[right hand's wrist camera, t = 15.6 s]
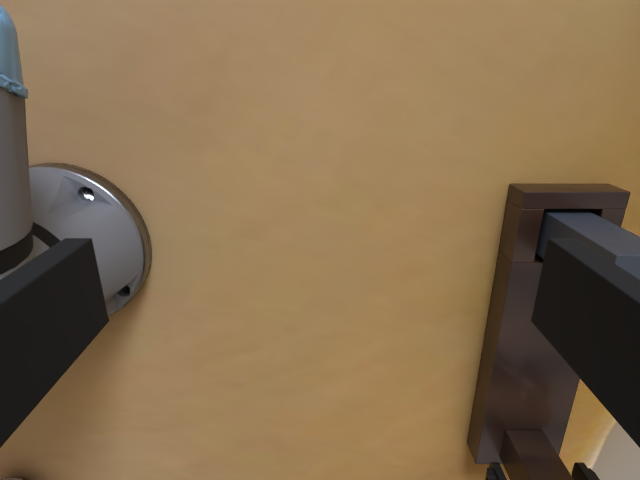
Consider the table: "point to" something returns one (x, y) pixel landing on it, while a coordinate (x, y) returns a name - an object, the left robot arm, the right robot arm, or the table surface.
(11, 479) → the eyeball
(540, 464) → the walnut plank
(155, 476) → the table surface
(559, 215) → the grey peg
